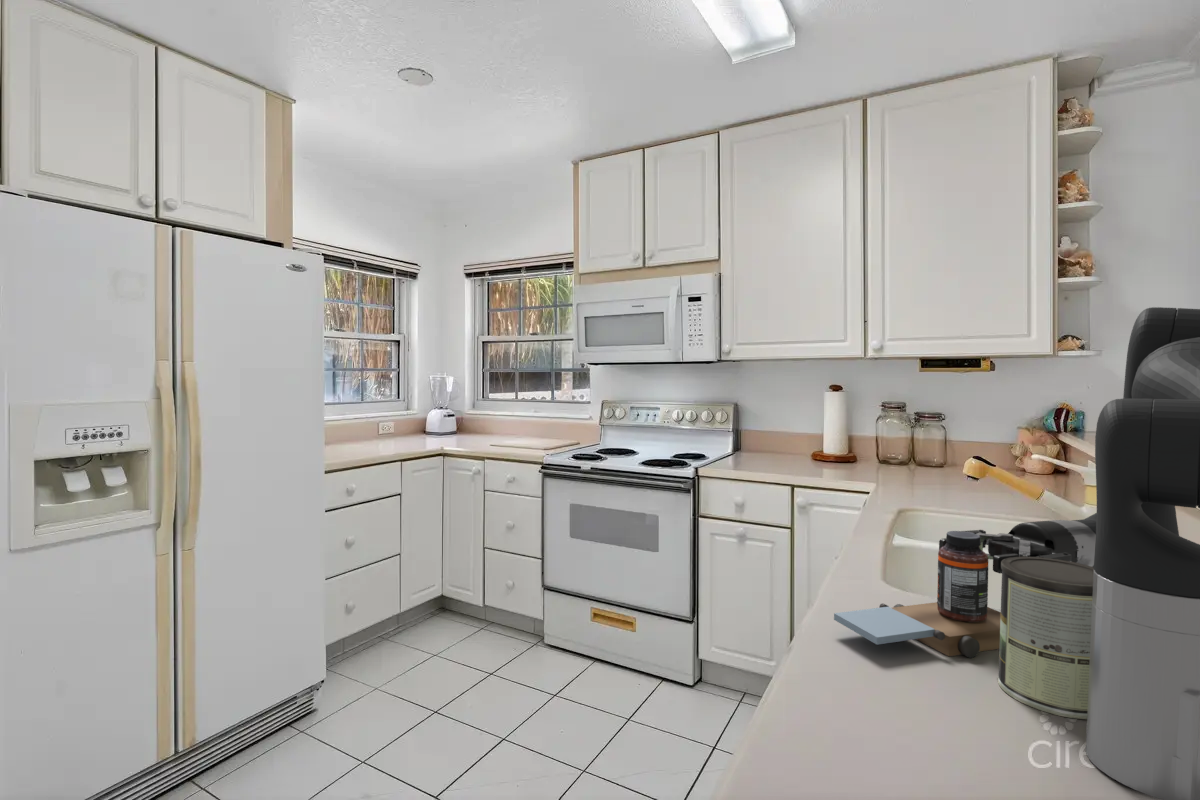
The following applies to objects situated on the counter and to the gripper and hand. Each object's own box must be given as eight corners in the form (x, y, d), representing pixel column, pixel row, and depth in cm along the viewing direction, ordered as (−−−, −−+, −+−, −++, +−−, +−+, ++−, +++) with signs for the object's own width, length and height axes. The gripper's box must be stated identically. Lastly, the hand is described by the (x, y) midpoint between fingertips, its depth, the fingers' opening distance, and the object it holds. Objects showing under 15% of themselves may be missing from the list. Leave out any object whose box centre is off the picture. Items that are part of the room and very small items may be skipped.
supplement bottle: (941, 604, 88) (943, 526, 87) (990, 614, 84) (992, 533, 83) (932, 616, 83) (934, 534, 83) (983, 628, 79) (985, 542, 79)
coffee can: (978, 669, 73) (982, 553, 73) (1070, 675, 72) (1075, 557, 72) (1030, 717, 63) (1035, 582, 62) (1138, 724, 62) (1144, 587, 61)
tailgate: (934, 629, 78) (877, 637, 75) (934, 639, 78) (876, 647, 75) (888, 606, 85) (834, 613, 83) (887, 615, 85) (833, 622, 83)
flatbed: (1039, 647, 80) (1040, 624, 79) (948, 661, 75) (949, 637, 75) (959, 612, 91) (960, 592, 91) (876, 623, 87) (876, 602, 87)
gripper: (1008, 510, 95) (925, 516, 90) (1107, 533, 81) (1017, 542, 76) (1006, 558, 95) (924, 566, 90) (1105, 588, 82) (1015, 600, 77)
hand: (966, 555), depth 83 cm, fingers open, 8 cm apart
